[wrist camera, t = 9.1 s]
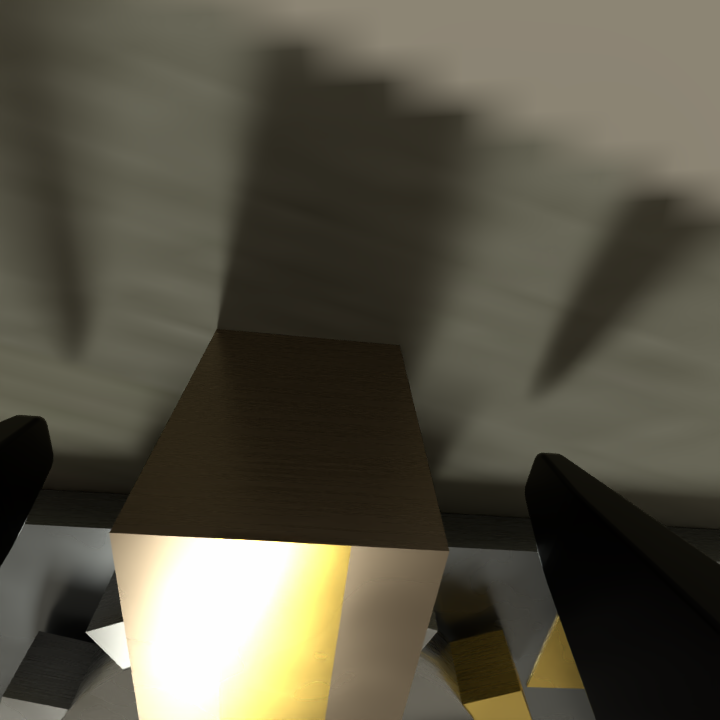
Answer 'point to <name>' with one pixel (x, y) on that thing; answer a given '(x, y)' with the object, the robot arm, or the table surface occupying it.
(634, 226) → the table surface
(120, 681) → the sprocket
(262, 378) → the striped gift box
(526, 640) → the base plate
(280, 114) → the table surface
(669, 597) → the robot arm
